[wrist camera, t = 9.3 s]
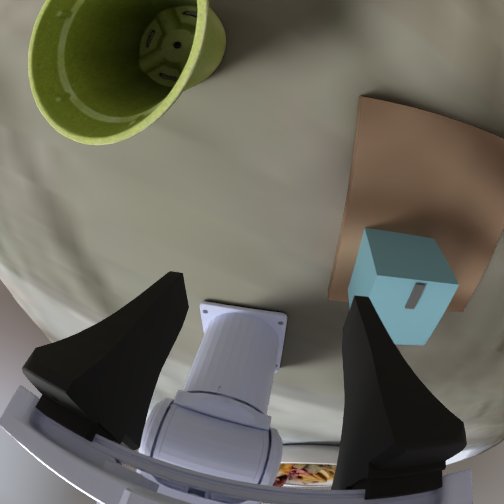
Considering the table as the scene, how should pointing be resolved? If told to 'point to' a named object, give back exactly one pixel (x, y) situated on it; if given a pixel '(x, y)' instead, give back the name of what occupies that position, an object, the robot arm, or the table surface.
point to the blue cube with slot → (403, 283)
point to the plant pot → (118, 63)
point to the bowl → (307, 465)
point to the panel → (423, 190)
